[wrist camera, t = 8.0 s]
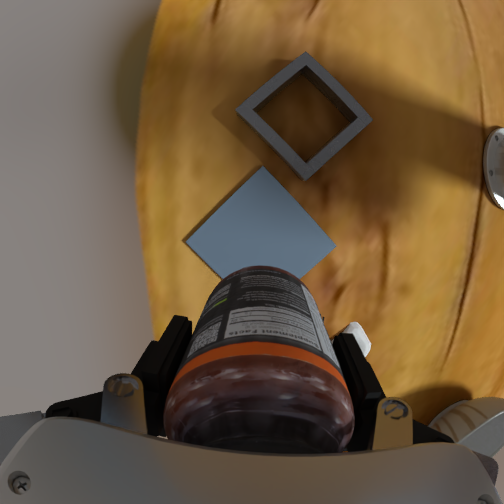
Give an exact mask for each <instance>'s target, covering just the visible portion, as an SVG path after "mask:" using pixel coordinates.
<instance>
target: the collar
mask: <svg viewBox="0 0 504 504" xmlns="http://www.w3.org/2000/svg"><path fill="white" fill-rule="evenodd" d="M302 74H303V75H304V76H305V77H306V78H307V79H308V80H309V81H310V82H311V83H312V84H313V85H314V86H315V87H316V88H317V89H319V90H320V91H321V92H322V93H323V94H324V95H325V96H326V97H327V98H328V100H329V101H330V102H331V103H332V104H333V105H334V106H335V107H336V108H337V109H338V110H339V111H340V112H341V113H342V114H343V115H344V116H345V117H346V119H347V120H348V121H349V122H350V123H348V124H347V125H346V126H345V127H344V128H343V129H342V130H341V131H339V132H338V133H337V134H336V135H335V136H334V137H333V138H332V139H330V140H329V141H328V142H327V143H326V144H325V145H324V146H323V147H322V148H320V149H319V150H318V151H317V152H316V153H315V154H314V155H313V156H312V157H310V158H309V159H308V160H307V161H306V162H304V161H303V160H302V159H301V158H300V157H299V156H298V155H297V154H296V153H295V151H294V150H293V149H292V148H291V147H290V146H289V145H288V144H287V143H286V142H285V141H284V140H283V139H282V138H281V137H280V136H279V135H278V134H277V133H276V132H275V131H274V130H273V129H272V128H271V127H270V126H269V125H268V124H267V123H266V122H265V121H264V120H263V119H262V118H261V117H260V116H259V115H257V114H256V113H257V112H258V111H259V110H260V109H261V108H263V107H264V106H265V105H266V104H267V103H268V102H269V101H271V100H272V99H273V98H274V97H275V96H276V95H278V94H279V93H280V92H281V91H282V90H284V89H285V88H286V87H287V86H288V85H290V84H291V83H292V82H293V81H295V80H296V79H297V78H298V77H300V76H301V75H302ZM235 111H236V113H237V115H238V116H239V117H240V118H241V119H242V120H243V121H244V122H245V123H246V124H247V125H248V126H249V127H250V128H251V129H252V130H253V131H254V132H255V133H256V134H257V135H258V136H259V137H260V138H261V139H262V140H263V141H264V142H265V143H266V144H267V145H268V146H269V147H270V148H271V149H272V150H273V151H274V152H275V153H276V154H277V155H278V156H279V157H280V158H281V159H282V160H283V161H284V162H285V163H286V164H287V165H288V166H289V167H290V168H291V169H292V171H293V172H294V173H295V174H296V175H297V176H298V177H299V178H300V179H301V180H302V181H306V180H307V179H309V178H310V177H311V176H312V175H313V174H314V173H315V172H316V171H317V170H318V169H319V168H321V167H322V166H323V165H324V164H325V163H326V162H327V161H328V160H329V159H330V158H331V157H333V156H334V155H335V154H336V153H337V152H338V151H339V150H340V149H341V148H342V147H344V146H345V145H346V144H347V143H348V142H349V141H350V140H351V139H352V138H354V137H355V136H356V135H357V134H358V133H359V132H360V131H361V130H362V129H363V128H365V127H366V126H367V125H368V124H369V123H370V122H371V121H372V120H373V119H372V118H371V117H370V116H369V114H368V113H367V112H366V111H365V110H364V109H363V108H362V106H361V105H360V104H359V103H358V102H357V101H356V100H355V99H354V98H353V97H352V96H351V95H350V93H349V92H348V91H347V90H346V89H345V88H344V87H343V86H342V85H341V84H340V83H339V82H338V81H337V80H336V79H335V78H334V77H333V76H332V75H331V74H330V73H329V72H328V71H327V70H326V69H324V68H323V67H322V66H321V65H320V64H319V63H318V62H317V61H316V60H315V59H314V58H313V57H311V56H310V55H309V54H308V53H307V52H304V53H303V54H302V55H300V56H299V57H298V58H296V59H295V60H294V61H292V62H291V63H290V64H289V65H287V66H286V67H285V68H284V69H282V70H281V71H280V72H278V73H277V74H276V75H275V76H274V77H272V78H271V79H270V80H269V81H267V82H266V83H265V84H264V85H263V86H261V87H260V88H259V89H258V90H257V91H256V92H254V93H253V94H252V95H251V96H250V97H249V98H248V99H246V100H245V101H244V102H243V103H242V104H241V105H240V106H239V107H237V108H236V109H235Z"/></svg>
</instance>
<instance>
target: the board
mask: <svg viewBox="0 0 504 504" xmlns="http://www.w3.org/2000/svg"><path fill="white" fill-rule="evenodd" d="M186 243H187V244H188V245H189V246H190V247H191V248H192V249H193V250H194V251H195V252H196V253H197V254H198V255H199V256H200V257H201V258H202V259H203V260H204V261H205V262H206V263H207V264H208V265H209V266H210V267H211V268H212V269H213V270H214V271H215V272H216V273H217V274H218V275H219V276H220V277H221V278H223V279H224V278H225V277H227V276H228V275H229V274H231V273H233V272H235V271H238V270H240V269H242V268H244V267H249V266H258V265H262V266H272V267H277V268H280V269H283V270H285V271H288V272H290V273H291V274H293V275H295V276H296V277H297V278H299V279H300V278H301V277H302V276H304V275H305V274H306V273H307V272H308V271H309V270H310V269H312V268H313V267H314V266H315V265H316V264H317V263H318V262H319V261H321V260H322V259H323V258H324V257H325V256H326V255H327V254H328V253H330V252H331V251H332V250H333V249H334V248H335V247H336V245H335V244H334V243H333V241H332V240H331V239H330V238H329V237H328V236H327V235H326V233H325V232H324V231H323V230H322V229H321V228H320V227H319V226H318V224H317V223H316V222H315V221H314V220H313V219H312V218H311V217H310V215H309V214H308V213H307V212H306V211H305V210H304V209H303V208H302V207H301V206H300V204H299V203H298V202H297V201H296V200H295V199H294V198H293V197H292V196H291V195H290V194H289V193H288V192H287V190H286V189H285V188H284V187H283V186H282V185H281V184H280V183H279V182H278V181H277V180H276V179H275V178H274V177H273V176H272V175H271V174H270V173H269V172H268V171H267V170H266V169H265V167H264V166H262V167H261V168H260V169H259V170H258V171H257V172H256V173H255V174H254V175H253V176H252V177H251V178H250V179H249V180H247V181H246V182H245V183H244V184H243V185H242V186H241V187H240V188H239V189H238V190H237V191H236V192H235V193H234V194H233V195H232V196H231V197H230V198H229V199H228V200H227V201H226V202H225V203H224V204H223V205H222V206H221V207H220V208H219V209H218V210H217V211H216V212H215V213H214V214H213V215H212V216H211V217H210V218H209V219H208V220H207V221H206V222H205V223H204V224H203V225H202V226H201V227H200V228H199V229H198V230H197V231H196V232H195V233H194V234H193V235H192V236H191V237H190V238H189V239H188V240H187V241H186Z"/></svg>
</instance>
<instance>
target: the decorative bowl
mask: <svg viewBox="0 0 504 504" xmlns="http://www.w3.org/2000/svg"><path fill="white" fill-rule="evenodd" d="M428 427H430V428H432V429H435V430H437V431H439V432H441V433H444V434H446V435H448V436H449V437H451V438H452V439H453V440H454V442H455V444H459V445H463V446H465V447H467V448H469V449H470V450H472V451H475V452H478V453H480V454H483V455H486V456H489V457H491V458H492V457H493V456H494V455H495V454H496V453H497V452H498V451H499V450H500V449H501V448H502V447H503V446H504V399H503V398H497V397H482V398H477V399H473V400H470V401H469V400H462V401H459V402H456V403H454V404H452V405H451V406H449V407H447V408H446V409H445V410H443V411H442V412H441V413H439V414H438V415H437V416H436V417H435V418H434V419H433V420H432V421H431V423H430V424H429V425H428Z"/></svg>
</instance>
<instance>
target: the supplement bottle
mask: <svg viewBox="0 0 504 504" xmlns="http://www.w3.org/2000/svg"><path fill="white" fill-rule="evenodd" d="M323 323H324V317H323V320H322V318H321V314H320V313H319V311H318V307H317V304H316V302H315V300H314V299H313V297H312V295H311V293H310V291H309V290H308V288H307V287H306V286H305V284H304V283H303V282H302V281H300V279H299V278H297V277H296V276H295V275H293V274H291V273H290V272H288V271H285V270H283V269H280V268H277V267H272V266H262V265H258V266H249V267H244V268H242V269H240V270H238V271H235V272H233V273H231V274H229V275H228V276H227V277H225V278H224V279H223V280H222V281H220V282H219V284H218V285H217V286H216V287H215V288H214V290H213V292H212V293H211V295H210V296H209V298H208V300H207V302H206V305H205V307H204V309H203V311H202V314H201V316H200V319H199V320H198V323H197V325H196V328H195V330H194V332H193V334H192V337H191V339H190V341H189V344H188V346H187V348H186V351H185V354H184V356H183V358H182V361H181V363H180V365H179V368H178V370H177V373H176V375H175V378H174V380H173V383H172V385H171V387H170V390H169V393H168V395H167V398H166V403H165V408H164V414H163V423H164V429H165V432H166V436H167V438H168V439H169V440H173V441H178V442H183V443H188V444H194V445H200V446H206V447H213V448H220V449H228V450H237V451H247V452H260V453H278V454H326V453H342V451H343V450H344V449H345V448H346V447H347V445H348V443H349V441H350V439H351V437H352V434H353V430H354V425H355V415H354V410H353V404H352V400H351V397H350V394H349V391H348V389H347V386H346V381H345V379H344V377H343V374H342V370H341V368H340V365H339V362H338V360H337V357H336V355H335V351H334V349H333V345H332V342H331V340H330V339H329V335H328V333H327V330H326V328H325V326H324V324H323Z"/></svg>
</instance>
